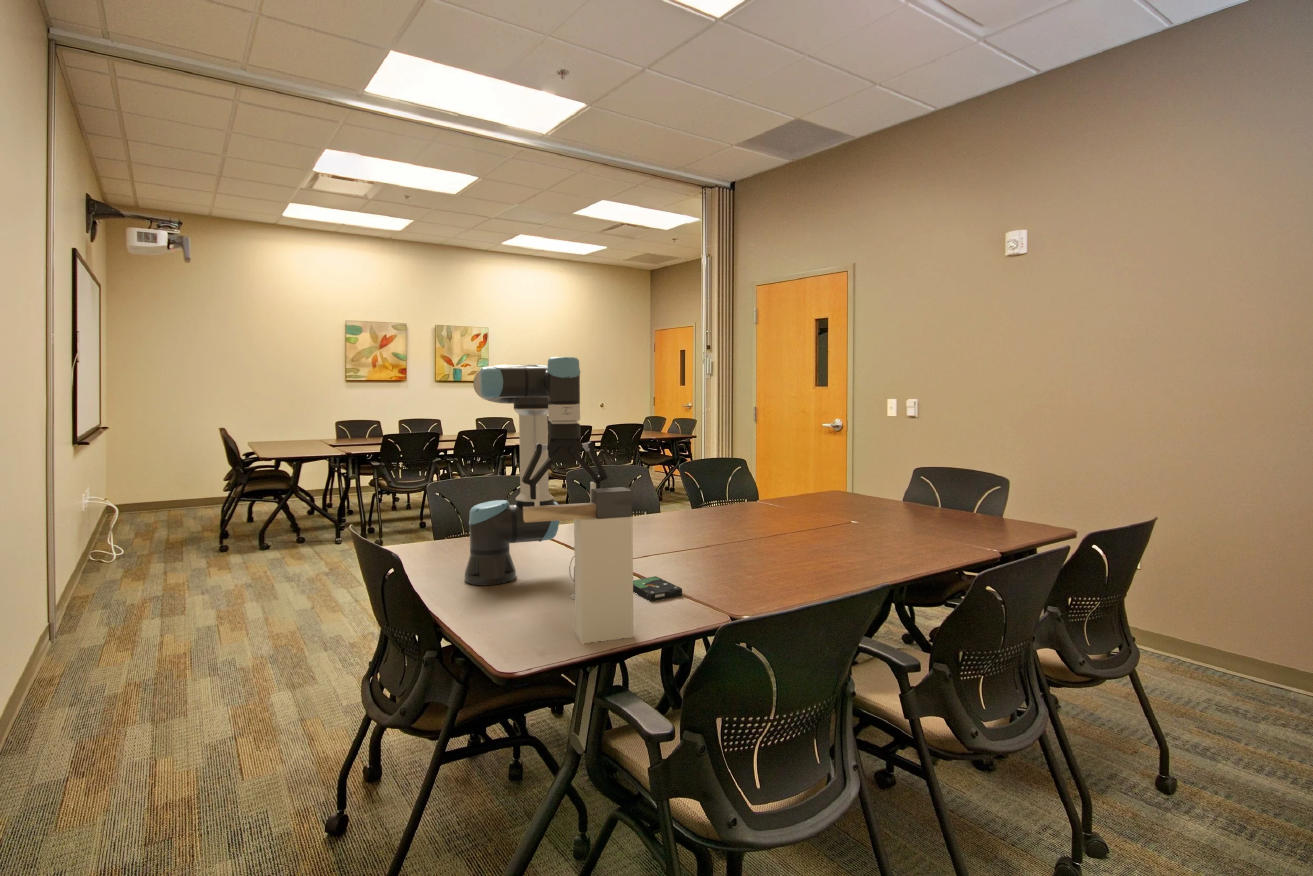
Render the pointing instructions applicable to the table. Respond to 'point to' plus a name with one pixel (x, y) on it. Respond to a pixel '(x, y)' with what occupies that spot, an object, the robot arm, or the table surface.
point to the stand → (603, 578)
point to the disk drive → (656, 589)
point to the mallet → (585, 507)
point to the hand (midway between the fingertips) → (565, 511)
